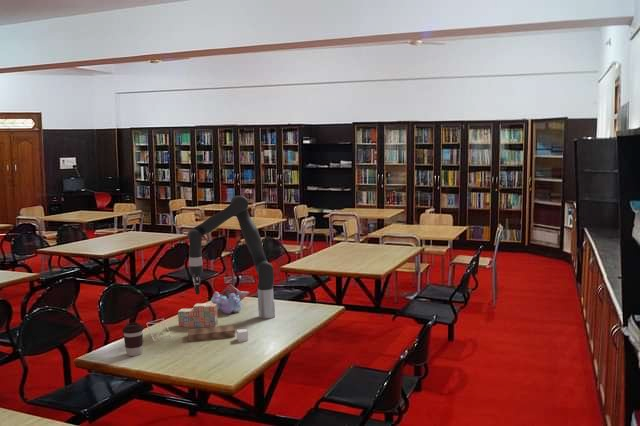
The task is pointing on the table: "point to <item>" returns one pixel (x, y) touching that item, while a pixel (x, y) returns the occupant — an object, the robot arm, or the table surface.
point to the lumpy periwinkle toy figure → (229, 299)
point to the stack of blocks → (198, 316)
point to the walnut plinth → (211, 333)
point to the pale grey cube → (242, 335)
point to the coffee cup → (133, 338)
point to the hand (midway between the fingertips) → (197, 292)
